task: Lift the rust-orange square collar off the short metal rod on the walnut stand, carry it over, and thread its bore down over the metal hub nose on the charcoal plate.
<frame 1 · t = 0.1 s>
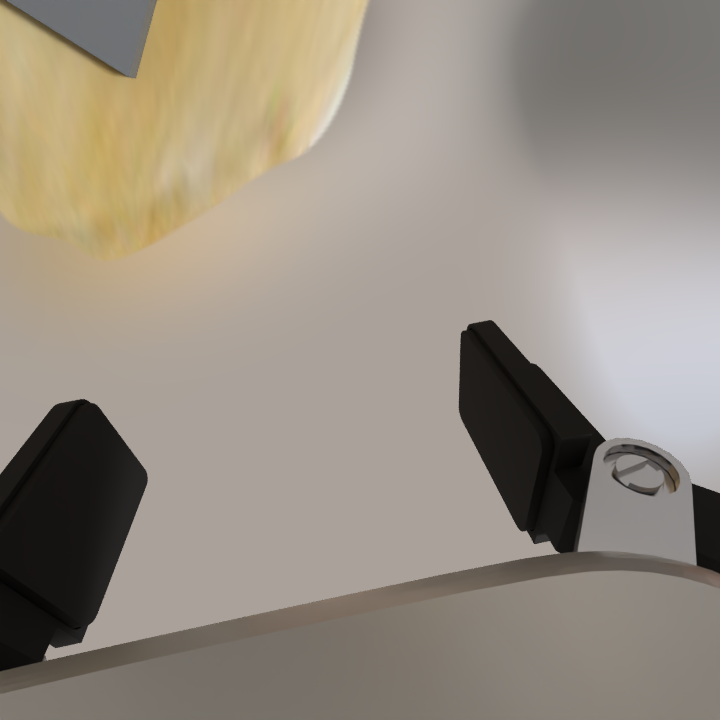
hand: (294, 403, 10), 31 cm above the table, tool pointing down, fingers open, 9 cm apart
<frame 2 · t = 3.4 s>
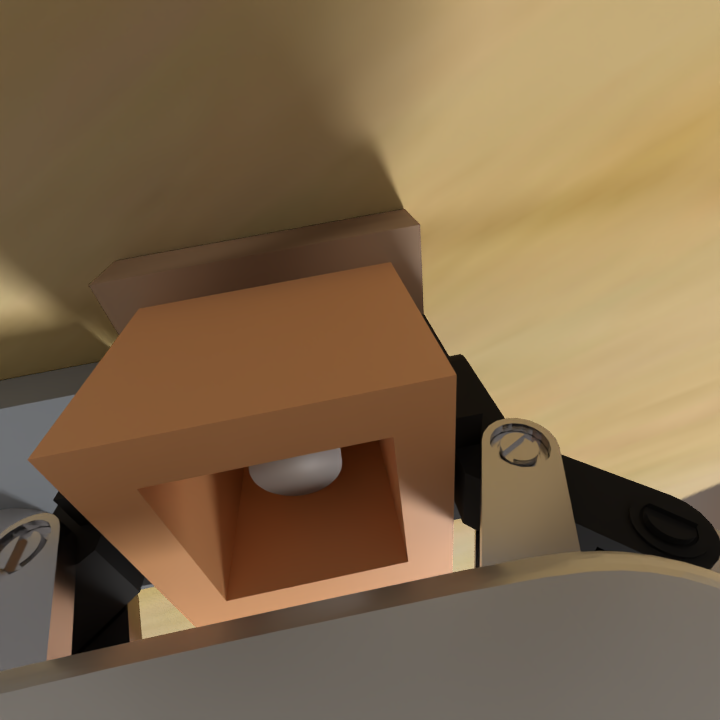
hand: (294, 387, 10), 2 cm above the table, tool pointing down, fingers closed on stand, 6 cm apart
collar: (296, 382, 11), point 1 cm above the table, touching gripper, stand
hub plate: (52, 493, 14), on the table
stand: (295, 353, 12), on the table
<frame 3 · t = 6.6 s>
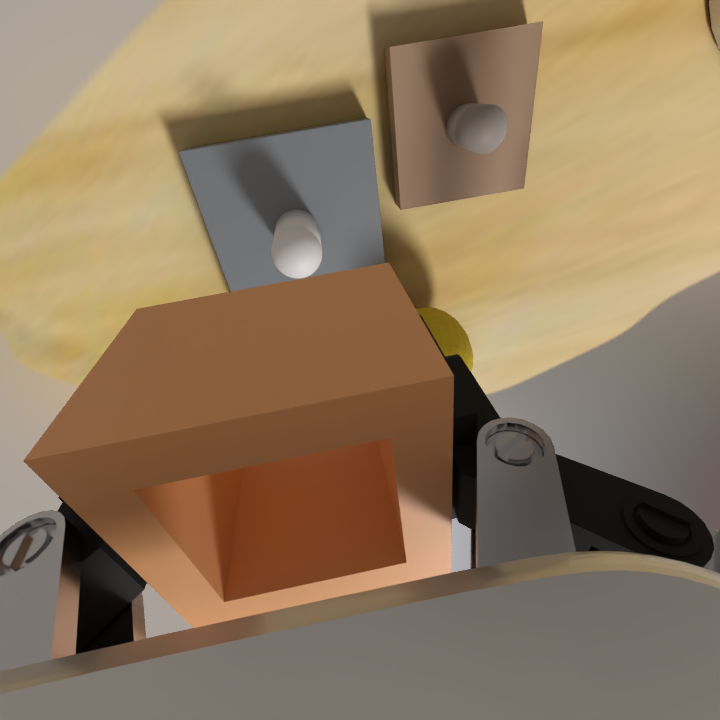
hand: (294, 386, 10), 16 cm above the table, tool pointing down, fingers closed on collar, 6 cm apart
lemon: (413, 321, 29), on the table
collar: (294, 382, 11), point 16 cm above the table, touching gripper
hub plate: (297, 225, 23), on the table
stand: (455, 123, 21), on the table
when the fingers open (3 cm above the table, at t = 9.0 s): collar stays where it is, resting on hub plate.
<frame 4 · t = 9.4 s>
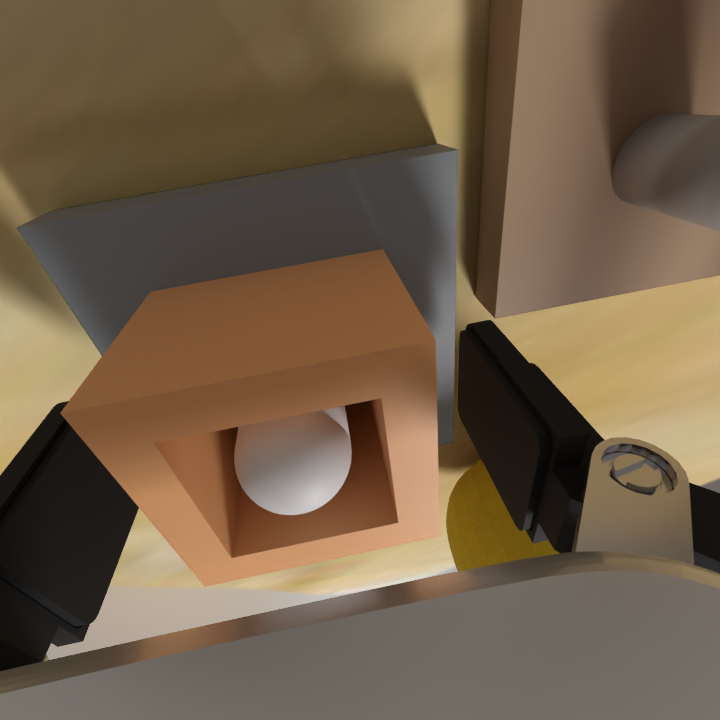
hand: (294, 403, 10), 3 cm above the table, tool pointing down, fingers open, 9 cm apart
lemon: (479, 457, 18), on the table
collar: (295, 363, 11), point 1 cm above the table, touching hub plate
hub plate: (294, 338, 13), on the table
stand: (610, 153, 11), on the table
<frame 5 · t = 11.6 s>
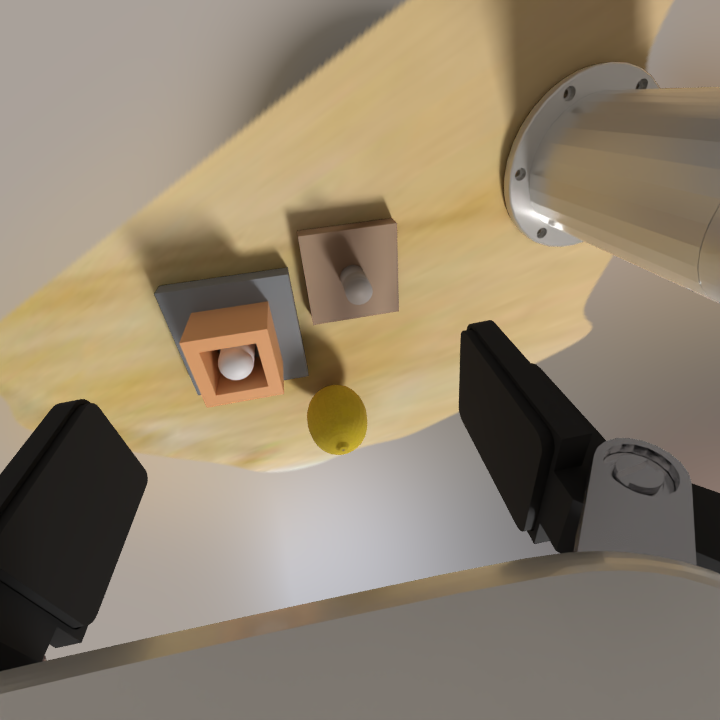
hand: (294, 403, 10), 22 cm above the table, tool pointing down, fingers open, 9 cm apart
lemon: (331, 390, 39), on the table
collar: (240, 339, 31), point 1 cm above the table, touching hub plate
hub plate: (241, 330, 33), on the table
stand: (349, 270, 31), on the table
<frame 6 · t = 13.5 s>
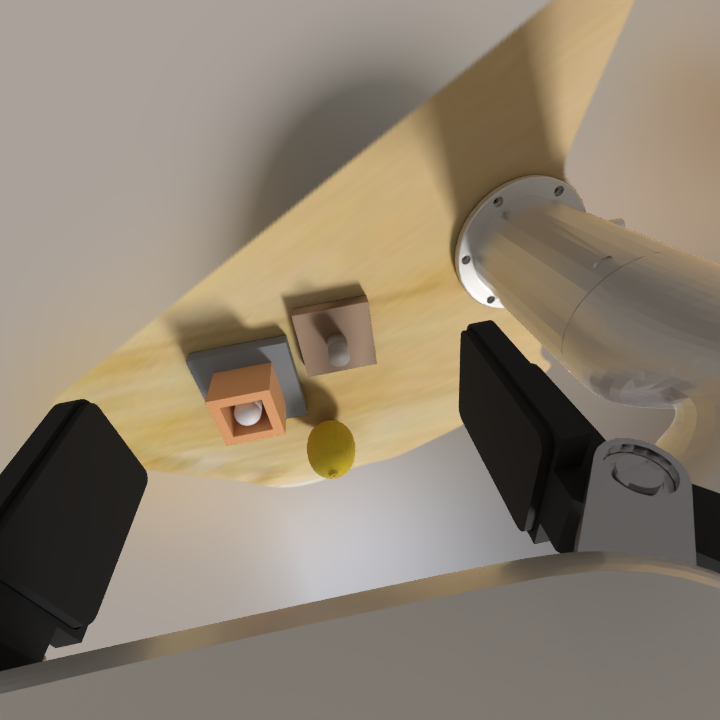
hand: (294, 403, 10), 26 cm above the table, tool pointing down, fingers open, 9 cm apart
lemon: (328, 422, 47), on the table
collar: (251, 389, 40), point 1 cm above the table, touching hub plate
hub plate: (252, 381, 41), on the table
stand: (335, 333, 39), on the table
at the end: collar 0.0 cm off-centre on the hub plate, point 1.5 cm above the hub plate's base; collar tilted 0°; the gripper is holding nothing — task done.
